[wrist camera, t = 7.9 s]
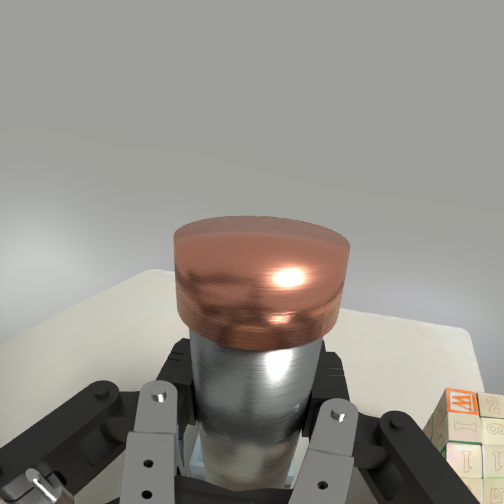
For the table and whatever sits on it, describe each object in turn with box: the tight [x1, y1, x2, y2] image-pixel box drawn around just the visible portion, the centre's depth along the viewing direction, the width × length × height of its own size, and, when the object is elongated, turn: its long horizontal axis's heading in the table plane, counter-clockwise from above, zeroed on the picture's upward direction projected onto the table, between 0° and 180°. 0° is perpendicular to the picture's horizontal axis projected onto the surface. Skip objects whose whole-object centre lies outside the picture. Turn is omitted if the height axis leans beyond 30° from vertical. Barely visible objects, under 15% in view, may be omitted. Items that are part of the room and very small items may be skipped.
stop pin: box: [174, 216, 350, 491], centre depth 10 cm, size 5×5×14 cm
